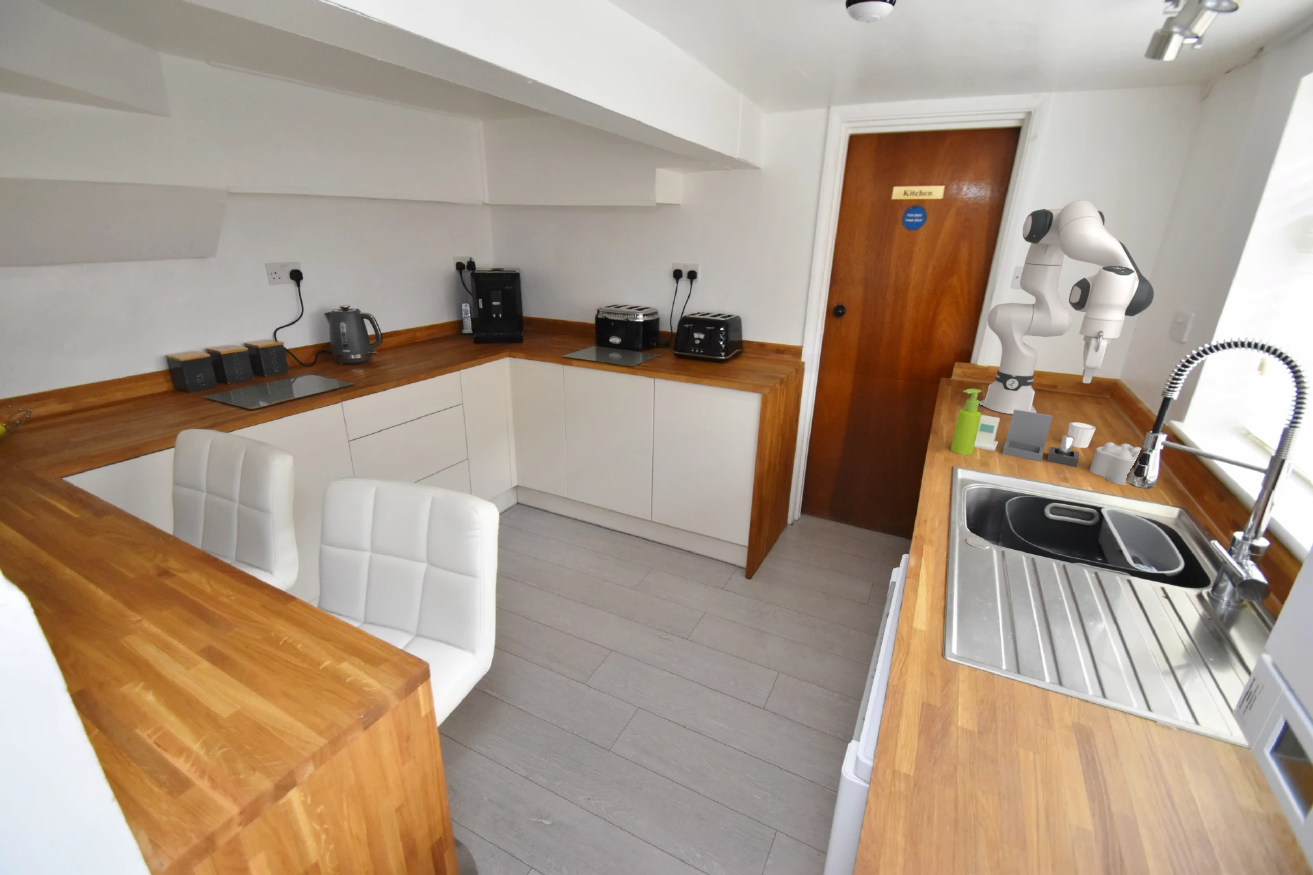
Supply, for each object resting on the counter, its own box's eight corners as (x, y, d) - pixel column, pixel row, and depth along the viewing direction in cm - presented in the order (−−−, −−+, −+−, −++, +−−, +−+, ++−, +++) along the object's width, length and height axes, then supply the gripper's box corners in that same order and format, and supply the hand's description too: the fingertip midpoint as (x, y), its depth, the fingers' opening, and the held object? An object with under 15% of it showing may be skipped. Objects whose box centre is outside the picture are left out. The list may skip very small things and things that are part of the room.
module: (976, 438, 182) (981, 414, 179) (994, 442, 179) (1000, 418, 176) (973, 443, 178) (979, 419, 175) (992, 447, 175) (998, 422, 172)
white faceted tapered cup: (1066, 440, 185) (1072, 420, 183) (1091, 446, 181) (1098, 425, 178) (1060, 445, 181) (1067, 425, 178) (1087, 452, 176) (1093, 430, 174)
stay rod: (1067, 461, 168) (1074, 436, 166) (1066, 464, 166) (1074, 439, 163) (1055, 459, 170) (1063, 434, 167) (1055, 462, 168) (1062, 436, 165)
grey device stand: (1004, 445, 180) (1014, 409, 175) (1042, 453, 174) (1052, 415, 170) (1001, 455, 172) (1011, 417, 168) (1040, 463, 167) (1051, 424, 162)
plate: (972, 440, 184) (973, 436, 183) (997, 445, 180) (998, 441, 180) (968, 447, 178) (969, 443, 177) (994, 452, 174) (995, 449, 173)
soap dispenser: (943, 451, 174) (957, 387, 167) (959, 448, 177) (973, 385, 170) (959, 458, 169) (974, 393, 162) (976, 455, 172) (991, 391, 165)
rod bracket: (1047, 455, 172) (1050, 446, 171) (1076, 461, 169) (1078, 451, 168) (1046, 463, 167) (1049, 453, 166) (1075, 468, 163) (1078, 459, 162)
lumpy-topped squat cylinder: (1083, 472, 161) (1092, 443, 158) (1109, 465, 167) (1118, 437, 164) (1124, 486, 153) (1134, 457, 150) (1151, 478, 158) (1161, 449, 155)
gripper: (1117, 336, 144) (1100, 389, 149) (1113, 326, 160) (1099, 374, 165) (1086, 333, 148) (1071, 384, 153) (1086, 323, 164) (1072, 370, 168)
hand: (1085, 379), depth 159 cm, fingers open, 8 cm apart
